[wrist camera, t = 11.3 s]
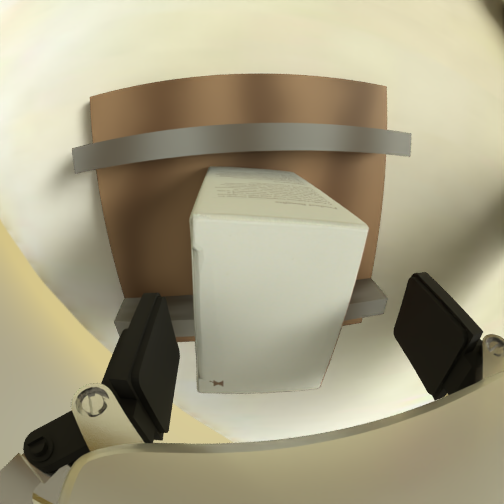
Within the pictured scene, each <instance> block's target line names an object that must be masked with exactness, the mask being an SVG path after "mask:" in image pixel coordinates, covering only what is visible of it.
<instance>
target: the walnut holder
mask: <svg viewBox="0 0 504 504" xmlns="http://www.w3.org/2000/svg"><path fill="white" fill-rule="evenodd" d="M90 110H91V126H92V138H93V143H92V144H88V145H84V146H80V147H76V148H72V155H73V163H74V170H75V174H76V173H81V172H85V171H90V170H95V169H96V172H97V179H98V186H99V192H100V198H101V203H102V209H103V214H104V219H105V224H106V228H107V233H108V237H109V242H110V246H111V250H112V254H113V258H114V262H115V266H116V270H117V273H118V277H119V280H120V284H121V287H122V291H123V294H124V297H125V299H124V301H123V303H122V305H121V307H120V310H119V312H118V314H117V316H116V319H115V321H114V323H115V326H116V328H117V331H118V333H119V336H120V335H121V333H122V331H123V330H124V329H128V327H129V325H130V322H131V320H132V318H133V315H134V313H135V311H136V308H137V306H138V304H139V302H140V299H141V297H142V295H143V293H160V295H161V297H163V296H164V297H165V298H166V301H167V306H168V310H169V314H170V318H171V322H172V326H173V329H174V333H175V337H176V341H177V342H189V341H195V327H194V306H193V279H192V253H191V237H190V223H189V220H190V215H191V212H192V209H193V206H194V204H195V201H196V199H197V196H198V193H199V191H200V188H201V186H202V183H203V181H204V178H205V176H206V173H207V171H208V168H209V167H210V166H215V167H240V168H255V169H269V170H279V171H288V172H294V173H295V174H297V175H298V176H300V177H301V178H303V179H304V180H306V181H307V182H309V183H310V184H312V185H313V186H315V187H316V188H318V189H319V190H321V191H322V192H323V193H325V194H326V195H328V196H329V197H330V198H332V199H333V200H334V201H336V202H337V203H339V204H340V205H341V206H343V207H344V208H346V209H347V210H348V211H350V212H351V213H352V214H354V215H355V216H357V217H358V218H359V219H360V220H362V221H363V222H364V223H365V224H367V226H368V227H369V232H368V235H367V239H366V244H365V248H364V252H363V256H362V260H361V264H360V267H359V271H358V274H357V279H356V282H355V286H354V289H353V293H352V296H351V299H350V303H349V306H348V309H347V313H346V316H345V319H344V322H343V325H342V326H344V325H350V324H356V323H361V322H362V318H363V317H368V316H374V315H379V314H384V310H385V306H386V303H387V299H388V298H387V297H386V295H385V294H384V293H383V292H382V290H381V289H380V288H379V287H378V286H377V285H376V283H375V282H374V281H373V280H372V279H371V276H372V270H373V265H374V259H375V253H376V247H377V240H378V233H379V226H380V218H381V210H382V201H383V191H384V179H385V165H386V154H389V155H399V156H409V157H410V153H411V133H405V132H399V131H392V130H387V86H382V85H376V84H371V83H365V82H359V81H353V80H346V79H338V78H329V77H320V76H308V75H292V74H228V75H212V76H200V77H190V78H182V79H174V80H167V81H160V82H154V83H149V84H143V85H138V86H133V87H128V88H124V89H119V90H115V91H111V92H107V93H103V94H99V95H95V96H92V97H90Z"/></svg>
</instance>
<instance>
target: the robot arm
mask: <svg viewBox="0 0 504 504" xmlns="http://www.w3.org/2000/svg"><path fill="white" fill-rule="evenodd" d="M482 333H483V331H482V330H481V328H480V327H479V326H478V325H477V324H476V323H475V322H474V321H473V320H472V318H471V317H470V316H469V315H468V314H467V313H466V312H465V311H464V310H463V309H462V308H461V307H460V305H459V304H458V303H457V302H456V301H455V300H454V299H453V298H452V297H451V296H450V295H449V294H448V293H447V292H446V291H445V290H444V289H443V288H442V287H441V286H440V285H439V284H438V283H437V282H436V281H435V280H434V279H433V278H432V277H431V276H430V275H429V274H428V273H426V272H422V273H414V274H413V275H412V276H411V278H409V280H408V283H407V287H406V291H405V294H404V298H403V301H402V305H401V308H400V311H399V315H398V318H397V321H396V324H395V327H394V336H395V338H396V340H397V341H398V343H399V345H400V346H401V348H402V349H403V351H404V353H405V354H406V356H407V358H408V359H409V361H410V363H411V364H412V366H413V368H414V369H415V371H416V373H417V374H418V376H419V378H420V379H421V381H422V383H423V385H424V386H425V388H426V390H427V392H428V393H429V394H431V395H432V396H433V398H434V400H436V401H434V402H431V403H428V404H426V405H423V406H420V407H418V408H415V409H412V410H409V411H406V412H403V413H400V414H397V415H394V416H391V417H387V418H384V419H381V420H377V421H373V422H370V423H366V424H362V425H358V426H354V427H350V428H345V429H341V430H336V431H331V432H326V433H320V434H315V435H309V436H302V437H296V438H288V439H280V440H270V441H259V442H244V443H226V444H225V443H223V444H184V443H176V444H175V443H153V440H163V433H167V432H168V431H169V424H170V417H171V410H172V403H173V397H174V390H175V384H176V377H177V371H178V365H179V359H180V353H179V348H178V344H177V341H176V337H175V333H174V329H173V326H172V322H171V318H170V314H169V310H168V306H167V301H166V298H165V297H164V296H163V297H161V295H160V293H143V295H142V297H141V299H140V302H139V304H138V306H137V308H136V311H135V313H134V315H133V318H132V320H131V322H130V325H129V327H128V329H124V330H123V331H122V333H121V335H120V338H119V340H118V343H117V345H116V347H115V350H114V352H113V355H112V357H111V360H110V362H109V365H108V368H107V370H106V373H105V375H104V378H103V381H102V383H101V384H98V383H93V384H88V385H85V386H83V387H82V388H80V389H79V390H78V391H77V392H76V393H75V394H74V396H73V398H72V402H71V408H72V411H70V412H68V413H66V414H64V415H62V416H61V417H59V418H57V419H55V420H53V421H51V422H49V423H48V424H46V425H44V426H42V427H40V428H38V429H36V430H34V431H33V432H31V433H30V434H29V435H28V437H27V438H26V439H25V442H24V449H23V450H24V453H23V454H22V455H21V454H19V453H18V454H17V455H16V456H15V457H14V458H13V459H12V460H11V461H10V462H9V463H8V464H7V465H6V466H5V467H4V468H3V469H2V470H1V471H0V504H504V339H503V338H501V337H500V336H497V335H494V334H489V335H486V336H485V337H484V338H483V340H482V341H481V340H480V337H481V335H482ZM447 393H448V396H446V397H445V395H446V394H447ZM442 397H443V398H442ZM440 398H441V399H440ZM437 399H439V400H437Z"/></svg>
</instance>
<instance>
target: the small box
mask: <svg viewBox="0 0 504 504" xmlns="http://www.w3.org/2000/svg"><path fill="white" fill-rule="evenodd" d="M189 223H190V237H191V253H192V279H193V306H194V327H195V346H196V367H197V391H198V392H200V393H222V394H243V393H272V392H289V391H301V390H310V389H318V388H320V386H321V383H322V381H323V378H324V376H325V373H326V371H327V368H328V365H329V363H330V360H331V357H332V354H333V352H334V349H335V346H336V343H337V340H338V337H339V334H340V331H341V328H342V325H343V322H344V319H345V316H346V313H347V309H348V306H349V303H350V299H351V296H352V293H353V289H354V286H355V282H356V279H357V274H358V271H359V267H360V264H361V260H362V256H363V252H364V248H365V244H366V239H367V235H368V232H369V227H368V226H367V224H365V223H364V222H363V221H362V220H360V219H359V218H358V217H357V216H355V215H354V214H352V213H351V212H350V211H348V210H347V209H346V208H344V207H343V206H341V205H340V204H339V203H337V202H336V201H334V200H333V199H332V198H330V197H329V196H328V195H326V194H325V193H323V192H322V191H321V190H319V189H318V188H316V187H315V186H313V185H312V184H310V183H309V182H307V181H306V180H304V179H303V178H301V177H300V176H298V175H297V174H295V173H294V172H288V171H279V170H269V169H255V168H240V167H215V166H210V167H209V168H208V171H207V173H206V176H205V178H204V181H203V183H202V186H201V188H200V191H199V193H198V196H197V199H196V201H195V204H194V206H193V209H192V212H191V215H190V220H189Z"/></svg>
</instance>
